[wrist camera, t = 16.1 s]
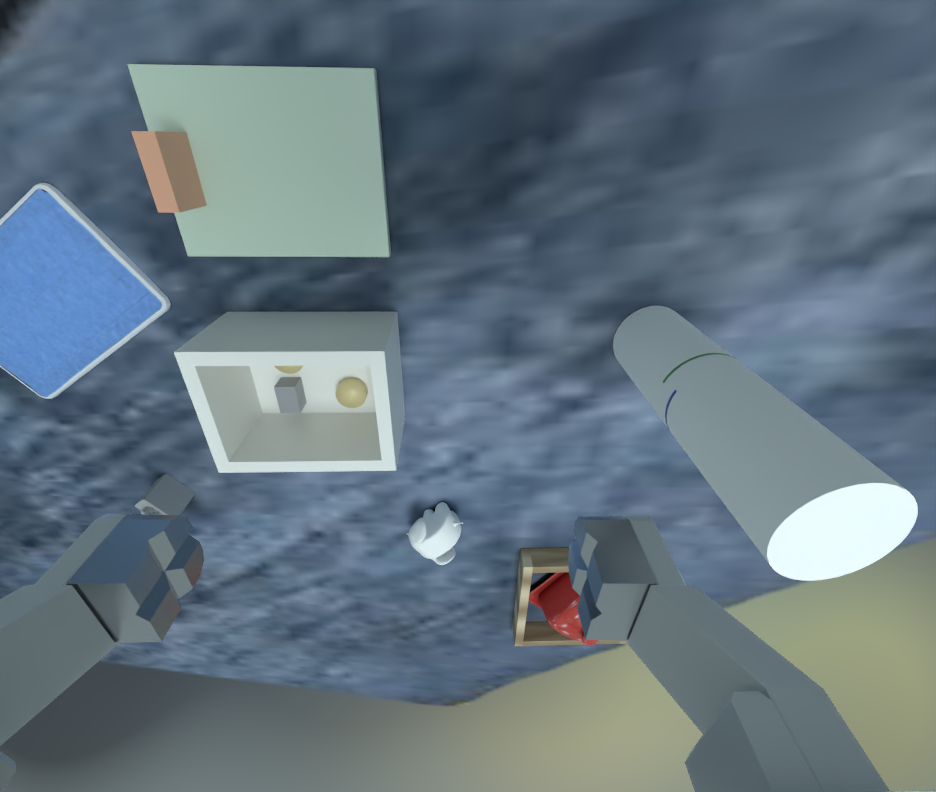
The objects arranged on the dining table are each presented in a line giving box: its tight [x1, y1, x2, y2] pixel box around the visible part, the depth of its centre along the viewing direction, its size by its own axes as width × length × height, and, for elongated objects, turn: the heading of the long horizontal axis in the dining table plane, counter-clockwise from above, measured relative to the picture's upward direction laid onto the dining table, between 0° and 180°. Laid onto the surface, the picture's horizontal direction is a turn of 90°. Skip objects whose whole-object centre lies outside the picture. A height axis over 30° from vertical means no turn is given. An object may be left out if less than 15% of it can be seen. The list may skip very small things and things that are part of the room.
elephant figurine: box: [407, 502, 463, 565], centre depth 52 cm, size 7×8×6 cm
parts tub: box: [174, 312, 405, 473], centre depth 40 cm, size 12×16×9 cm
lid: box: [128, 64, 391, 257], centre depth 32 cm, size 13×17×6 cm
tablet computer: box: [0, 183, 171, 399], centre depth 40 cm, size 19×13×1 cm, turn 122°
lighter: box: [135, 473, 195, 515], centre depth 49 cm, size 7×2×8 cm, turn 35°
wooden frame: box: [512, 548, 628, 646], centre depth 62 cm, size 18×17×3 cm
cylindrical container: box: [613, 306, 918, 581], centre depth 33 cm, size 7×7×25 cm
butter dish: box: [529, 572, 599, 645], centre depth 60 cm, size 12×12×8 cm
